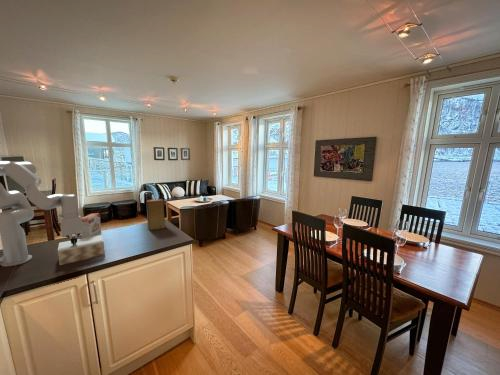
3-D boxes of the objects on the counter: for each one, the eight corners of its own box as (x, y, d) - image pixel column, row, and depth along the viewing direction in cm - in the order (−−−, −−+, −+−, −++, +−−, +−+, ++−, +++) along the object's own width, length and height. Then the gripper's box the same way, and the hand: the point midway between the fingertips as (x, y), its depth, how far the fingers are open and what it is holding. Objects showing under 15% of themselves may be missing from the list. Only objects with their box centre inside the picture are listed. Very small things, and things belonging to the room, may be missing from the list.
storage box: (59, 265, 125) (57, 252, 124) (60, 256, 136) (59, 244, 135) (104, 254, 139) (103, 243, 137) (102, 247, 149) (101, 236, 148)
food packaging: (163, 224, 198) (162, 198, 194) (165, 228, 190) (164, 200, 186) (147, 227, 191) (145, 199, 187) (148, 230, 183) (147, 201, 179)
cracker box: (91, 247, 149) (88, 218, 146) (82, 247, 148) (79, 218, 145) (102, 239, 163) (100, 212, 160) (94, 239, 162) (91, 213, 159)
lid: (57, 252, 124) (57, 250, 124) (59, 244, 135) (59, 242, 134) (103, 242, 137) (103, 241, 137) (101, 236, 148) (101, 234, 148)
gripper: (53, 218, 121) (57, 249, 124) (86, 214, 130) (89, 243, 133) (54, 215, 127) (58, 245, 129) (86, 211, 136) (89, 239, 139)
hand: (74, 244), depth 131 cm, fingers closed
